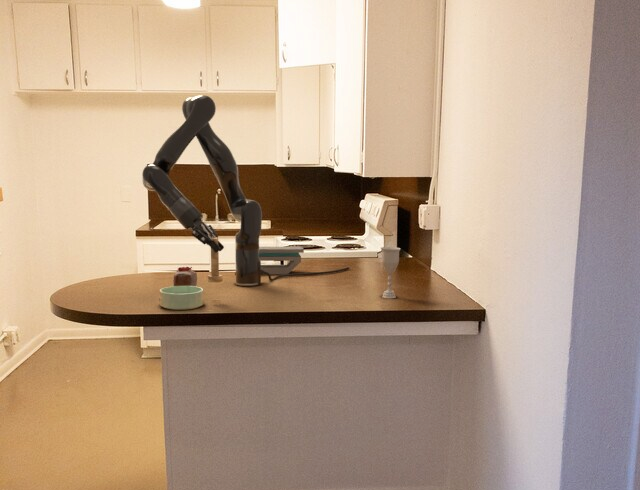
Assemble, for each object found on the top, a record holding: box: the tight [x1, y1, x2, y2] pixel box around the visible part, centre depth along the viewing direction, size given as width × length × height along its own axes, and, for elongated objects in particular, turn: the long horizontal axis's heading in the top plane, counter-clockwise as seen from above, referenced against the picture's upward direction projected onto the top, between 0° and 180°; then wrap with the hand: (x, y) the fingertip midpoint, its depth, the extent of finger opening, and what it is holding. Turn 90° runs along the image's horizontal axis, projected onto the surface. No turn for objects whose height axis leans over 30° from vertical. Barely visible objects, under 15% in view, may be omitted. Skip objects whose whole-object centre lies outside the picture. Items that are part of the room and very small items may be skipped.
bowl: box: [159, 285, 205, 311], centre depth 222 cm, size 14×14×6 cm
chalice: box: [380, 246, 401, 299], centre depth 241 cm, size 7×7×18 cm
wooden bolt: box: [207, 237, 223, 284], centre depth 227 cm, size 5×5×15 cm
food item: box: [173, 266, 198, 287], centre depth 242 cm, size 14×8×10 cm, turn 7°
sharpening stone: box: [259, 246, 305, 275], centre depth 287 cm, size 25×8×11 cm, turn 98°
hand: (220, 250), depth 226 cm, fingers closed on wooden bolt, 2 cm apart
